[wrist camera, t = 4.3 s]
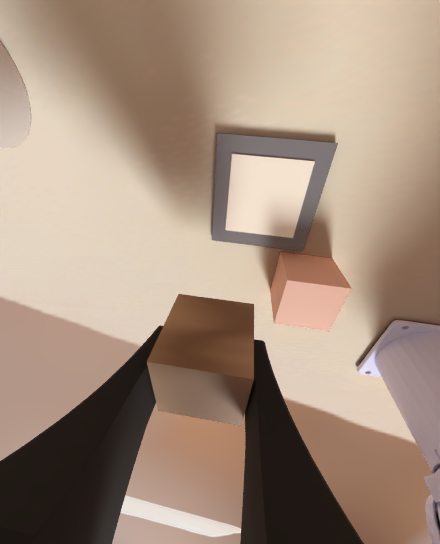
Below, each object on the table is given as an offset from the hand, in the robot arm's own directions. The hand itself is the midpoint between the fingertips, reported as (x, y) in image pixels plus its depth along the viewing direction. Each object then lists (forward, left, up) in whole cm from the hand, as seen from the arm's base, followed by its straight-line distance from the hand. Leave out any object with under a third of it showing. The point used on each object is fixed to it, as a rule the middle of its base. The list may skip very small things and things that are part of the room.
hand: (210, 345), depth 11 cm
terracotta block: (-6, 0, -8) cm, 10 cm away
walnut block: (0, 0, -2) cm, 2 cm away
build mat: (-2, -6, -8) cm, 10 cm away
